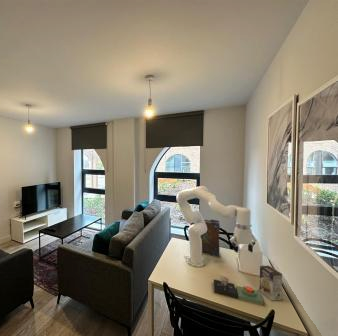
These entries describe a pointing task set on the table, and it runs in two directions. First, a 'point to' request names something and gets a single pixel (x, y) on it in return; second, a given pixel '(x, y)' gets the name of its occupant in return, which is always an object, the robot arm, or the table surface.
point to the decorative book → (211, 238)
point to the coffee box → (270, 282)
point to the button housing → (249, 295)
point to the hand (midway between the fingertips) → (243, 251)
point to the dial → (224, 282)
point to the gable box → (250, 258)
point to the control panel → (225, 289)
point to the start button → (249, 289)
